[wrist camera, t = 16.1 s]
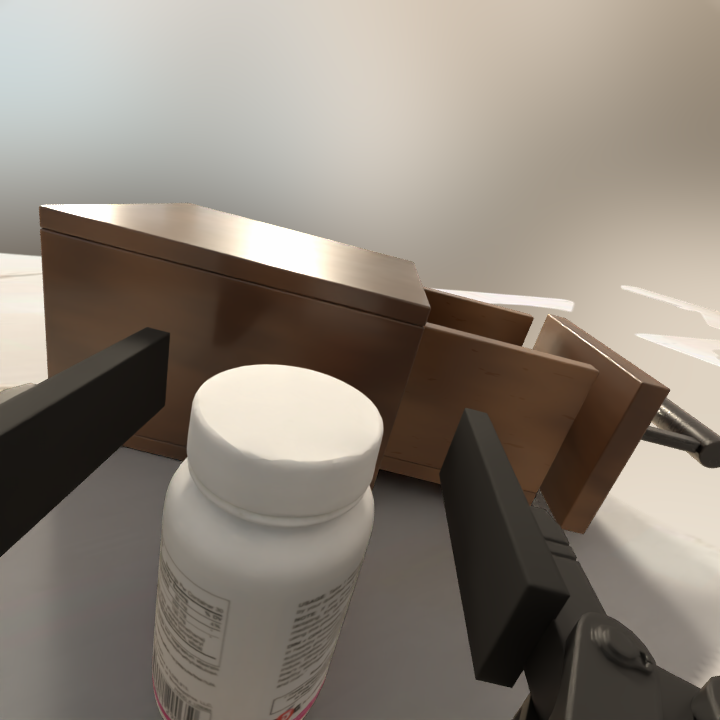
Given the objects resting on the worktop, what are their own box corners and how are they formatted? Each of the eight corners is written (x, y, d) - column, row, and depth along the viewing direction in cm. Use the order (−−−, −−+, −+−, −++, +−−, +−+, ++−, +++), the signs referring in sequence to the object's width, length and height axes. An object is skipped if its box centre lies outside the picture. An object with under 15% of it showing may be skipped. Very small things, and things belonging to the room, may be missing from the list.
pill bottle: (316, 580, 14) (376, 370, 11) (335, 750, 10) (439, 490, 7) (171, 581, 13) (194, 344, 10) (124, 777, 9) (138, 472, 6)
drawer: (596, 441, 29) (652, 340, 26) (700, 563, 19) (808, 425, 16) (332, 374, 28) (359, 264, 25) (302, 465, 19) (340, 304, 16)
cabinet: (375, 393, 29) (414, 261, 26) (367, 506, 18) (431, 307, 15) (176, 343, 29) (187, 202, 25) (49, 428, 18) (37, 204, 14)
